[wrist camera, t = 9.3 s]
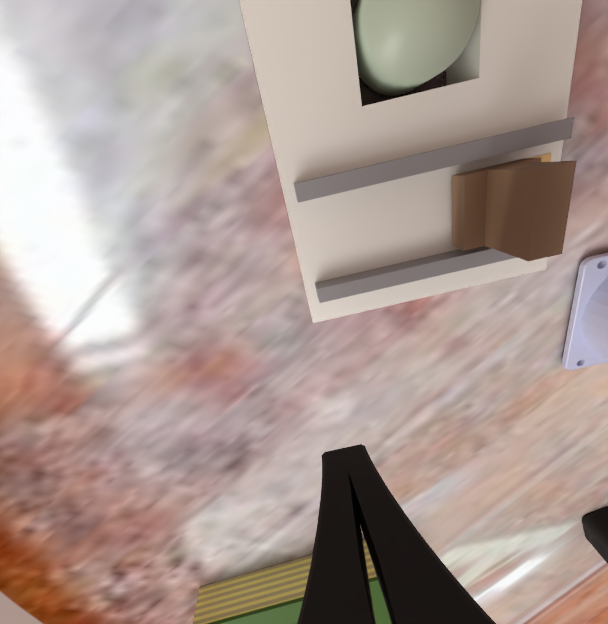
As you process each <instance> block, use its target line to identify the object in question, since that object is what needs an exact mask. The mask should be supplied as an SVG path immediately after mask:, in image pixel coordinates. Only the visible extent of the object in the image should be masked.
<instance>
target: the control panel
mask: <svg viewBox="0 0 608 624" xmlns="http://www.w3.org/2000/svg"><path fill="white" fill-rule="evenodd" d="M239 3H240V7H241V11H242V16H243V20H244V24H245V29H246V33H247V38H248V42H249V46H250V51H251V55H252V59H253V64H254V68H255V72H256V77H257V81H258V85H259V90H260V94H261V99H262V103H263V107H264V112H265V116H266V120H267V125H268V129H269V133H270V138H271V142H272V146H273V151H274V155H275V160H276V164H277V168H278V173H279V177H280V181H281V186H282V190H283V194H284V199H285V203H286V208H287V212H288V216H289V221H290V225H291V229H292V234H293V238H294V242H295V247H296V251H297V255H298V260H299V264H300V269H301V273H302V277H303V282H304V286H305V290H306V295H307V299H308V303H309V308H310V312H311V316H312V320H313V323H315V322H320V321H324V320H328V319H333V318H337V317H341V316H346V315H350V314H355V313H359V312H363V311H368V310H372V309H376V308H381V307H385V306H389V305H394V304H398V303H402V302H407V301H411V300H415V299H420V298H424V297H428V296H433V295H437V294H441V293H446V292H450V291H455V290H459V289H463V288H468V287H472V286H476V285H481V284H485V283H489V282H494V281H498V280H502V279H507V278H511V277H515V276H520V275H524V274H528V273H533V272H537V271H542V270H546V266H547V259H548V257H545V258H541V259H537V260H532V261H526V260H523V259H520V258H517V257H515V256H512V255H509V254H506V253H503V252H500V251H498V250H495V249H492V248H489V247H486V246H482V247H478V248H473V249H469V250H465V251H463V250H461V249H459V248H456V247H454V246H452V189H451V175H456V174H460V173H464V172H468V171H472V170H477V169H481V168H485V167H489V166H494V165H498V164H502V163H506V162H510V161H515V160H519V159H525V158H541V162H558V161H561V155H562V147H563V140H564V139H569V138H571V133H572V126H573V119H574V117H573V118H568V119H566V118H567V110H568V103H569V96H570V88H571V81H572V73H573V66H574V58H575V51H576V44H577V36H578V29H579V21H580V14H581V7H582V0H480V8H479V14H478V18H477V22H476V25H475V28H474V30H473V33H472V35H471V37H470V40H469V42H468V43H467V45H466V47H465V48H464V50H463V51H462V53H461V54H460V56H459V57H458V58H457V59H456V60H455V61H454V62H453V63H452V64H451V65H450V66H449V67H448V68H447V69H446V86H444V87H440V88H435V89H431V90H427V91H423V92H419V93H415V94H411V95H407V96H402V97H398V98H394V99H390V100H386V101H382V102H378V103H374V104H369V105H365V106H362V103H361V94H360V85H359V76H358V67H357V58H356V49H355V40H354V31H353V22H352V13H351V4H350V0H239Z"/></svg>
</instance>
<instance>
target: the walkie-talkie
mask: <svg viewBox="0 0 608 624" xmlns="http://www.w3.org/2000/svg"><path fill="white" fill-rule="evenodd" d="M582 523H583V528H584V532H585V537H586V538H587V540H588V541H589V542H590V543H591V544H592V545H593V547H594V548H595V549H596V550H597V551H598V553H599V554H600V555H601V556H602V557H603V558H604V560H605V561H606V562H607V563H608V507H606V508H603V509H601V510H598V511H595V512H593V513H590V514H587V515H585V516H584V517H583V518H582Z"/></svg>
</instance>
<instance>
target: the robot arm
mask: <svg viewBox="0 0 608 624" xmlns="http://www.w3.org/2000/svg"><path fill="white" fill-rule="evenodd" d="M599 262H600V263H599ZM598 263H599V264H598ZM605 362H608V253H604V254H599V255H595V256H591V257H588V258H586V259H584V260H583V261H582V262H581V264H580V266H579V272H578V277H577V282H576V288H575V293H574V299H573V304H572V310H571V315H570V321H569V326H568V331H567V337H566V342H565V348H564V353H563V359H562V366H563V367H564V368H565V369H567V370H574V369H578V368H583V367H587V366H592V365H596V364H601V363H605ZM360 525H361V526H360ZM361 528H362V531H363V534H364V538H365V541H366V544H367V547H368V550H369V553H370V557H371V560H372V563H373V566H374V569H375V572H376V576H377V579H378V582H379V585H380V588H381V591H382V594H383V598H384V601H385V604H386V607H387V610H388V614H389V617H390V621H391V624H496V623H495V622H494V621H493V620H492V619H491V618H490V617H489V616H488V615H487V614H486V613H485V612H484V610H483V609H482V608H481V607H480V606H479V605H478V604H477V603H476V601H475V600H474V599H473V598H472V597H471V596H470V595H469V593H468V592H467V591H466V590H465V589H464V588H463V586H462V585H461V584H460V583H459V582H458V581H457V579H456V578H455V577H454V576H453V575H452V573H451V572H450V571H449V570H448V569H447V568H446V566H445V565H444V564H443V563H442V561H441V560H440V559H439V558H438V556H437V555H436V554H435V553H434V551H433V550H432V549H431V548H430V546H429V545H428V544H427V543H426V541H425V540H424V539H423V537H422V536H421V535H420V533H419V532H418V531H417V529H416V528H415V527H414V525H413V524H412V523H411V521H410V520H409V518H408V517H407V516H406V514H405V513H404V511H403V510H402V509H401V507H400V506H399V504H398V503H397V501H396V500H395V498H394V497H393V495H392V494H391V492H390V491H389V489H388V488H387V486H386V485H385V483H384V481H383V480H382V478H381V476H380V475H379V473H378V471H377V470H376V468H375V466H374V464H373V462H372V461H371V459H370V457H369V455H368V453H367V450H366V448H365V446H363V445H361V444H360V445H356V446H351V447H347V448H342V449H338V450H333V451H329V452H325V453H324V454H323V455H322V489H321V501H320V509H319V517H318V525H317V532H316V537H315V543H314V549H313V554H312V560H311V566H310V571H309V575H308V580H307V585H306V589H305V594H304V598H303V602H302V606H301V611H300V615H299V619H298V622H297V624H376V621H375V616H374V610H373V603H372V597H371V591H370V584H369V578H368V571H367V565H366V558H365V552H364V546H363V539H362V533H361Z"/></svg>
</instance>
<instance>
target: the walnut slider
mask: <svg viewBox="0 0 608 624" xmlns="http://www.w3.org/2000/svg"><path fill="white" fill-rule="evenodd" d="M575 166H576V161H558V162H541V158H525V159H519V160H515V161H510V162H506V163H502V164H498V165H494V166H489V167H485V168H481V169H477V170H472V171H468V172H464V173H460V174H456V175H451V189H452V246H454V247H456V248H459V249H461V250H463V251H465V250H469V249H473V248H478V247H482V246H486V247H489V248H492V249H495V250H498V251H500V252H503V253H506V254H509V255H512V256H515V257H517V258H520V259H523V260H526V261H532V260H537V259H541V258H545V257H550V256H554V255H558V254H562V250H563V243H564V237H565V231H566V224H567V218H568V211H569V205H570V198H571V192H572V185H573V179H574V173H575Z"/></svg>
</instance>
